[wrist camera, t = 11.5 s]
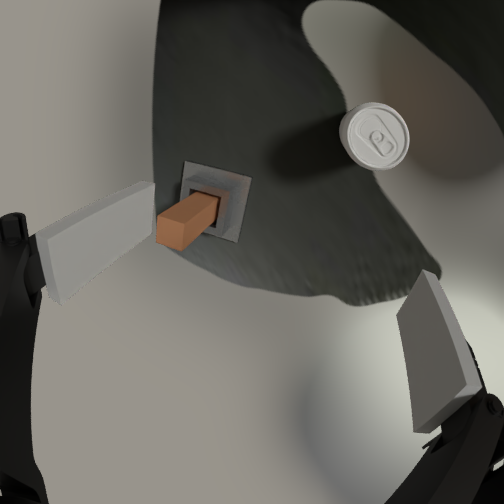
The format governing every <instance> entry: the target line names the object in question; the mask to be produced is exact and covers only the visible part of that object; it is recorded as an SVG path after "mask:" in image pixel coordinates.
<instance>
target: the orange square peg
mask: <svg viewBox="0 0 504 504" xmlns="http://www.w3.org/2000/svg"><path fill="white" fill-rule="evenodd" d="M220 201H221V197H220V196H216V195H213V194H209V193H206V192H202V191H197V192H195V193H194V194H192V195H190V196H188V197H187V198H185V199H183V200H182V201H180V202H179V203H177V204H175V205H174V206H172V207H170V208H169V209H167V210H166V211H164V212H162V213H161V214H159V215H158V218H157V235H156V242H157V243H159V244H162V245H165V246H168V247H171V248H173V249H176V250H179V251H183V250H184V249H185V248H186V247H187V246H188V245H189V244H190V243H191V242H192V241H193V240H194V239H195V238H196V237H197V236H199V235H200V234H201V233H202V232H203V231H204V230H205V229H206V228H207V227H208V226H209V225H210V224H212V223H213V222H214V221H215V220H216V219H217V218H218V213H219V207H220Z"/></svg>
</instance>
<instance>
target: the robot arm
mask: <svg viewBox="0 0 504 504" xmlns="http://www.w3.org/2000/svg"><path fill="white" fill-rule="evenodd" d="M154 191H155V184H154V183H150V182H146V181H140V182H138V183H136V184H134V185H131V186H129V187H126V188H124V189H122V190H120V191H118V192H115V193H113V194H111V195H109V196H106V197H105V198H102V199H100V200H98V201H96V202H94V203H92V204H90V205H88V206H85V207H84V208H81V209H80V210H78V211H76V212H74V213H72V214H70V215H68V216H66V217H64V218H62V219H60V220H58V221H56V222H55V223H53V224H51V225H49V226H47V227H46V228H44V229H42V230H40V231H38V232H37V233H35V234H33V235H32V236H30V237H29V235H28V229H27V223H26V216H25V215H24V214H22V213H17V212H15V213H10V214H7V215H4V216H2V217H1V218H0V490H1V493H2V496H0V504H49V503H48V498H47V494H46V489H45V484H44V480H43V477H42V475H41V472H40V470H39V469H38V467H37V465H36V463H35V460H34V456H33V446H32V434H31V378H32V363H33V352H34V343H35V335H36V328H37V322H38V316H39V310H40V305H41V299H42V292H41V288H42V287H44V286H45V285H46V287H47V291H48V295H49V297H50V298H51V299H52V300H54V301H55V302H57V303H58V304H60V305H62V304H63V303H65V302H66V301H67V300H68V299H69V298H71V297H72V296H73V295H74V294H75V293H76V292H78V291H79V290H80V289H81V288H83V287H84V286H85V285H86V284H87V283H89V282H90V281H91V280H92V279H93V278H95V277H96V276H97V275H98V274H100V273H101V272H102V271H103V270H105V269H106V268H107V267H108V266H110V265H111V264H112V263H114V262H115V261H116V260H118V259H119V258H120V257H121V256H123V255H124V254H125V253H127V252H128V251H129V250H131V249H132V248H133V247H135V246H136V245H137V244H139V243H140V242H141V241H143V240H144V239H145V238H147V237H148V236H149V235H151V234H152V218H153V204H154ZM396 316H397V321H398V325H399V330H400V335H401V340H402V346H403V351H404V357H405V362H406V369H407V376H408V383H409V390H410V399H411V408H412V417H413V432H416V433H431V432H432V431H433V430H435V429H436V428H437V427H438V426H440V425H441V430H442V433H440V434H439V435H438V436H436V437H435V438H434V439H432V440H431V441H429V442H428V443H427V444H425V445H424V446H423V447H422V448H423V449H425V448H426V447H428V446H429V448H428V449H427V451H426V452H425V454H424V455H423V457H422V458H421V460H420V461H419V462H418V463H417V465H416V466H415V467H414V469H413V470H412V472H411V473H410V474H409V475H408V477H407V478H406V479H405V480H404V482H403V483H402V484H401V485H400V486H399V488H398V489H397V490H396V491H395V492H394V493H393V495H392V496H391V497H390V498H389V499H388V500H387V501H386V503H384V504H504V464H503V465H502V466H501V467H499V468H498V469H496V470H494V471H493V468H494V465H495V464H496V463H498V462H499V461H501V460H502V459H504V407H503V405H502V403H501V401H500V400H499V399H498V397H496V396H495V395H493V394H490V393H489V394H487V391H486V387H485V384H484V381H483V378H482V375H481V372H480V369H479V368H478V364H477V361H476V360H475V355H474V353H473V350H472V348H471V346H470V345H469V344H468V342H467V341H466V339H465V337H464V335H463V333H462V330H461V328H460V325H459V323H458V321H457V319H456V316H455V314H454V312H453V310H452V307H451V305H450V303H449V301H448V299H447V297H446V295H445V293H444V291H443V289H442V287H441V285H440V283H439V281H438V279H437V277H436V275H435V274H433V273H430V272H428V271H425V270H422V271H421V273H420V275H419V277H418V279H417V281H416V283H415V284H414V286H413V288H412V290H411V291H410V293H409V295H408V297H407V298H406V300H405V302H404V304H403V305H402V307H401V308H400V310H399V312H398V313H397V315H396Z"/></svg>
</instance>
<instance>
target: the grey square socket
mask: <svg viewBox="0 0 504 504" xmlns="http://www.w3.org/2000/svg"><path fill="white" fill-rule="evenodd" d="M252 179H253V177H252V176H248V175H244V174H241V173H237V172H233V171H229V170H225V169H221V168H217V167H213V166H209V165H205V164H201V163H196V162H192V161H188V160H187V161H185V165H184V172H183V179H182V187H181V195H180V201H182V200H183V199H185V198H187V197H188V196H190V195H192V194H194V193H195V192H197V191H202V192H206V193H209V194H213V195H216V196H220V197H221V201H220V207H219V213H218V218H217V219H216V220H215V221H214V222H213V223H212V224H210V225H209V226H208V227H207V228H206V229H205V230H204V231H203V232H205V233H208V234H211V235H214V236H217V237H221V238H224V239H227V240H230V241H233V242H236V243H238V242H239V238H240V233H241V229H242V224H243V220H244V215H245V210H246V206H247V201H248V197H249V192H250V188H251V183H252Z"/></svg>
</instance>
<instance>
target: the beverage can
mask: <svg viewBox="0 0 504 504" xmlns="http://www.w3.org/2000/svg"><path fill="white" fill-rule="evenodd" d="M339 135H340V139H341V142H342V144H343V146H344V148H345V149H346V151H347V153H348V154H349V156H350V157H351V158H352V159H353V160H354V161H355V162H356V163H357V164H359V165H360V166H362V167H364V168H366V169H369V170H374V171H383V170H388V169H390V168H393V167H394V166H396V165H397V164H399V163H400V162H401V161H402V159H403V158H404V156H405V155H406V153H407V150H408V147H409V132H408V128H407V126H406V123H405V122H404V120H403V118H402V117H401V116H400V115H399V114H398V113H397V112H396V111H395V110H394V109H392V108H391V107H389V106H387V105H384V104H381V103H375V102H372V103H371V102H370V103H364V104H361V105H359V106H357V107H355V108H354V109H352V110H350V111H349V112H348V113H347V114H346V115H345V116H344V117H343V119H342V121H341V123H340V127H339Z"/></svg>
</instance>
